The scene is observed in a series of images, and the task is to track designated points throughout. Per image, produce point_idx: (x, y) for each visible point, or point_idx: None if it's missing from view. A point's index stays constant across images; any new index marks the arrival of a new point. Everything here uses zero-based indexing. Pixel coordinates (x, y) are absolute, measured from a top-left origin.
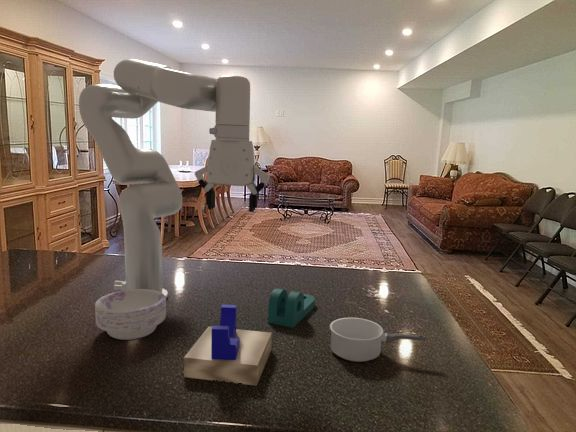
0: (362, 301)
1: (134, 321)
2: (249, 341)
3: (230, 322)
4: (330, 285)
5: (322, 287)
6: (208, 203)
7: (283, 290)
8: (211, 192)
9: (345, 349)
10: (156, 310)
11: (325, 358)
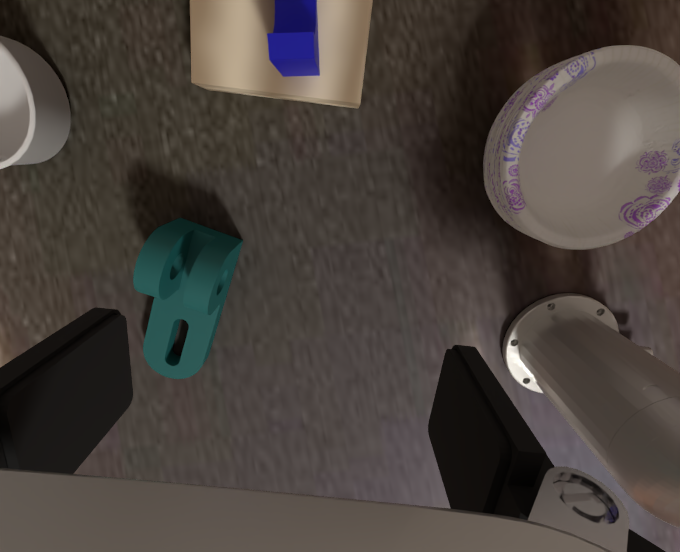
0: None
1: (560, 63)
2: (236, 16)
3: (285, 27)
4: (135, 460)
5: (152, 447)
6: (484, 368)
7: (185, 290)
8: (499, 477)
9: (5, 38)
10: (514, 112)
11: (79, 62)
